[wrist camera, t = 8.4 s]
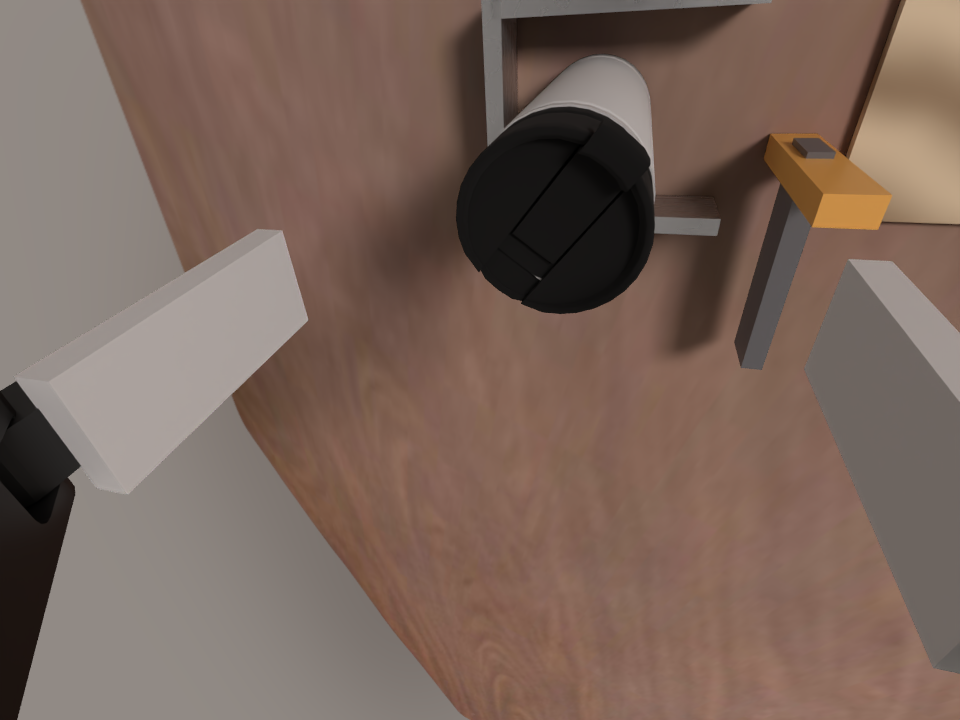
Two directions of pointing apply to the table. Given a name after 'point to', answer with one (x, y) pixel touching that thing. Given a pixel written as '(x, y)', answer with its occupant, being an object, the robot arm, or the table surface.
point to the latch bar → (801, 226)
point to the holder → (500, 68)
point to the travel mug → (566, 191)
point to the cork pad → (915, 115)
